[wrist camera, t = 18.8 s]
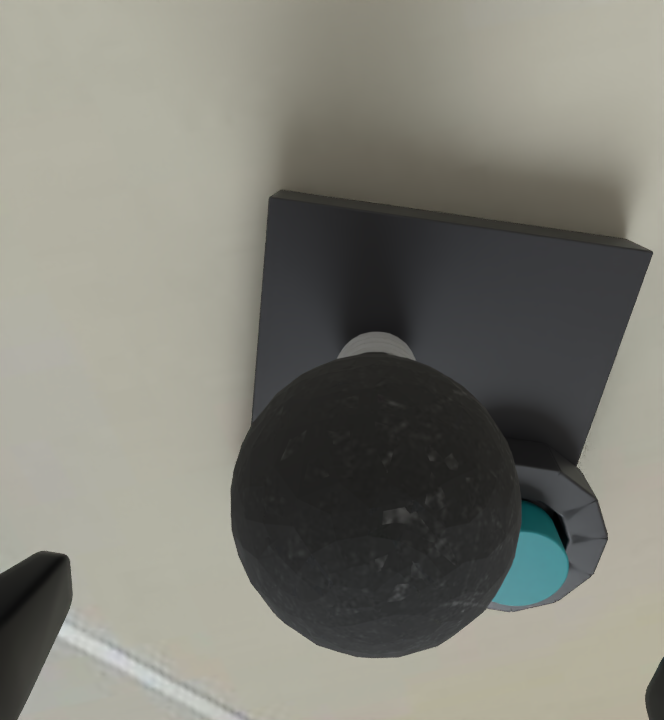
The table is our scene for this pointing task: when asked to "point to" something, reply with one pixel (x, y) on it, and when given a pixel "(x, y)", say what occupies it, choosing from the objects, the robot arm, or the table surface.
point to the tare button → (534, 561)
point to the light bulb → (376, 503)
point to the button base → (462, 327)
